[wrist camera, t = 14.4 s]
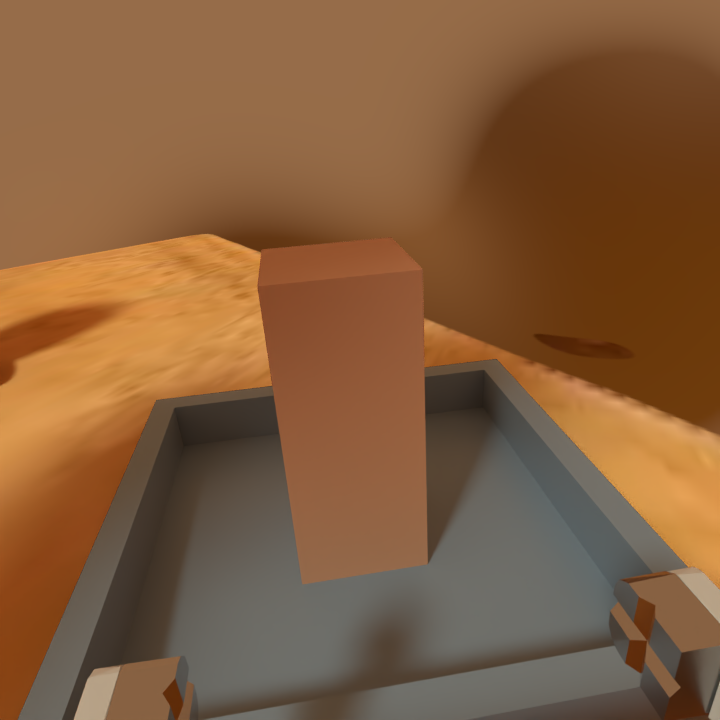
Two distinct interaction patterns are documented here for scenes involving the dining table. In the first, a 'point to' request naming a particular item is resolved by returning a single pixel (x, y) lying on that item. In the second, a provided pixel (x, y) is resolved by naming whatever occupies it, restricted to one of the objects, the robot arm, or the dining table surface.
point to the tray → (364, 592)
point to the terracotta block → (349, 402)
